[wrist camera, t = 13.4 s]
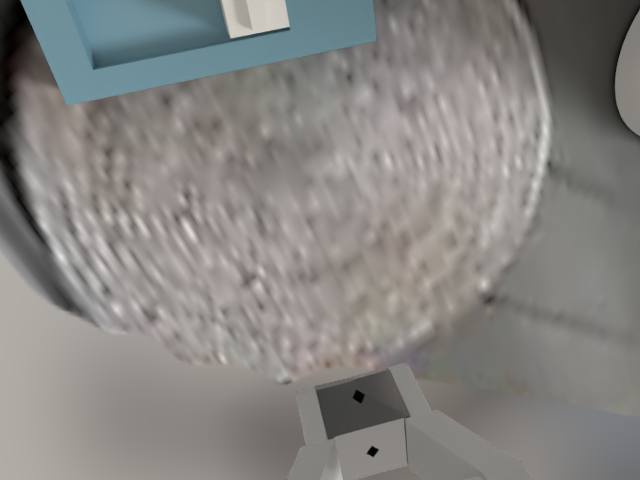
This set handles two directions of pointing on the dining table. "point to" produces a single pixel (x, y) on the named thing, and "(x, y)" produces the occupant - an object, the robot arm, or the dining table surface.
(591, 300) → the dining table surface
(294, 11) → the switch bank
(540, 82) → the dining table surface
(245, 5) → the tab
